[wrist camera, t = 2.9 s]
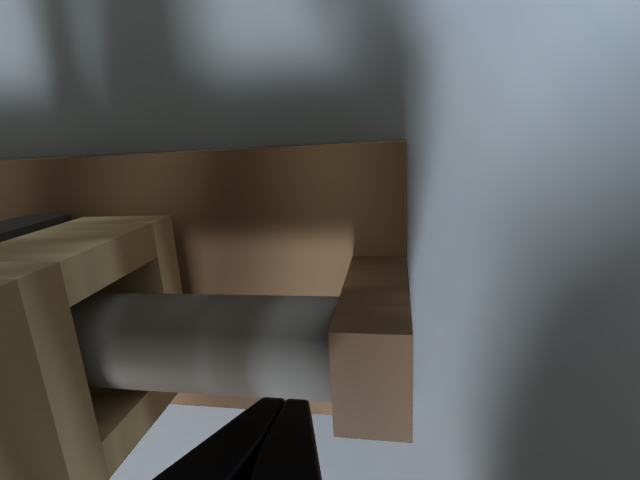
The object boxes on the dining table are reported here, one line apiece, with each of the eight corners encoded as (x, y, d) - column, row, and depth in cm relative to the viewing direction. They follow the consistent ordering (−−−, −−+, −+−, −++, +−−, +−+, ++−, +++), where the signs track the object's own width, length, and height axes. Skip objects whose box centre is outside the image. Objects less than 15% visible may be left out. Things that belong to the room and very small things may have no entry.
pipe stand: (405, 139, 13) (413, 155, 7) (405, 397, 15) (411, 566, 9) (-180, 169, 17) (-476, 193, 11) (-107, 366, 19) (-319, 470, 13)
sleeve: (170, 215, 13) (-140, 344, 5) (194, 372, 14) (-23, 643, 7) (83, 216, 13) (-308, 336, 6) (115, 367, 15) (-167, 615, 7)
